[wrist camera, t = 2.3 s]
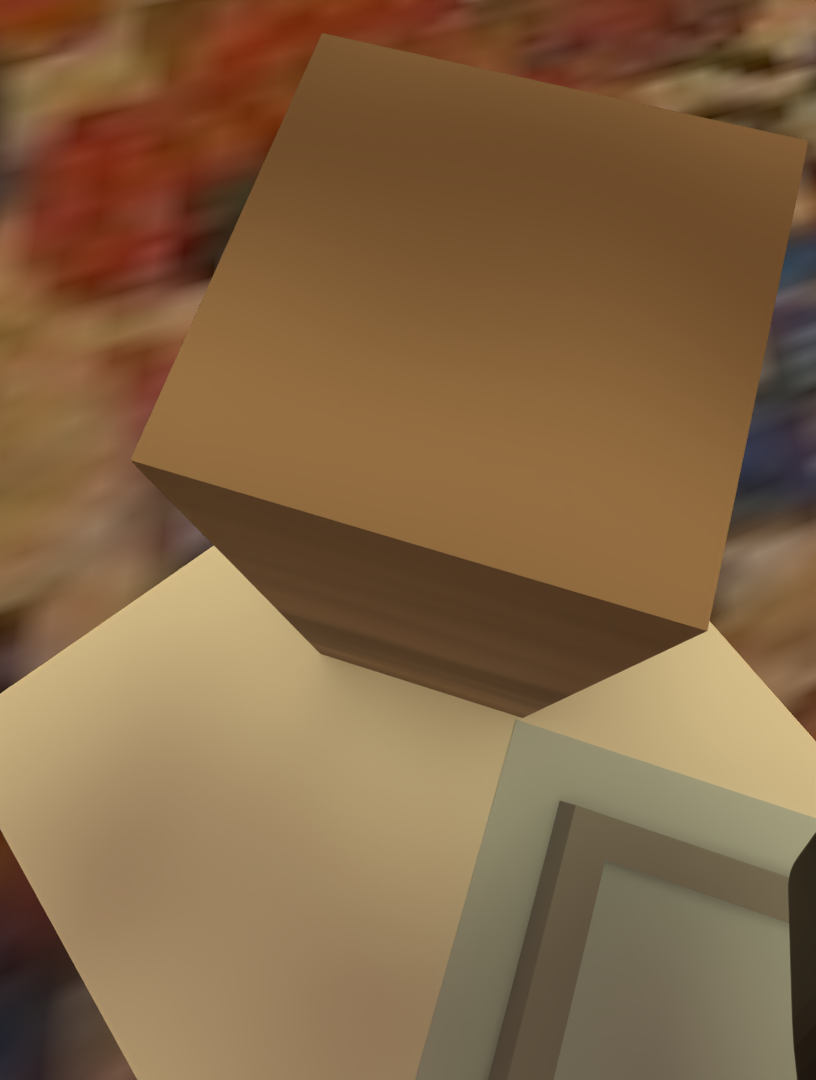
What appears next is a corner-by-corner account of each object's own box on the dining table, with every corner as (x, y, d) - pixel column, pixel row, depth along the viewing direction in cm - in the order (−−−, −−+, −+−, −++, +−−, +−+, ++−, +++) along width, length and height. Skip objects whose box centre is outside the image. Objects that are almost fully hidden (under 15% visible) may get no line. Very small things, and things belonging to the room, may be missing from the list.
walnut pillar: (522, 718, 17) (707, 631, 6) (320, 653, 18) (131, 460, 6) (574, 522, 19) (807, 141, 7) (384, 468, 19) (322, 33, 8)
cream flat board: (752, 2168, 12) (836, 2535, 9) (-42, 731, 18) (-112, 727, 16) (1412, 1344, 14) (1612, 1463, 12) (511, 347, 21) (522, 293, 18)
